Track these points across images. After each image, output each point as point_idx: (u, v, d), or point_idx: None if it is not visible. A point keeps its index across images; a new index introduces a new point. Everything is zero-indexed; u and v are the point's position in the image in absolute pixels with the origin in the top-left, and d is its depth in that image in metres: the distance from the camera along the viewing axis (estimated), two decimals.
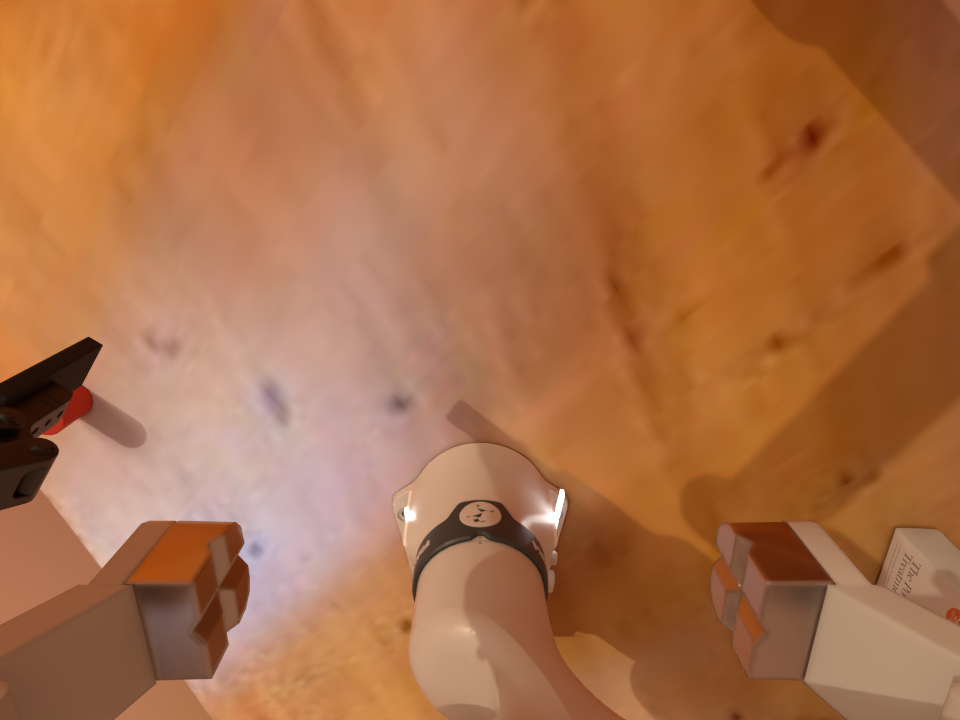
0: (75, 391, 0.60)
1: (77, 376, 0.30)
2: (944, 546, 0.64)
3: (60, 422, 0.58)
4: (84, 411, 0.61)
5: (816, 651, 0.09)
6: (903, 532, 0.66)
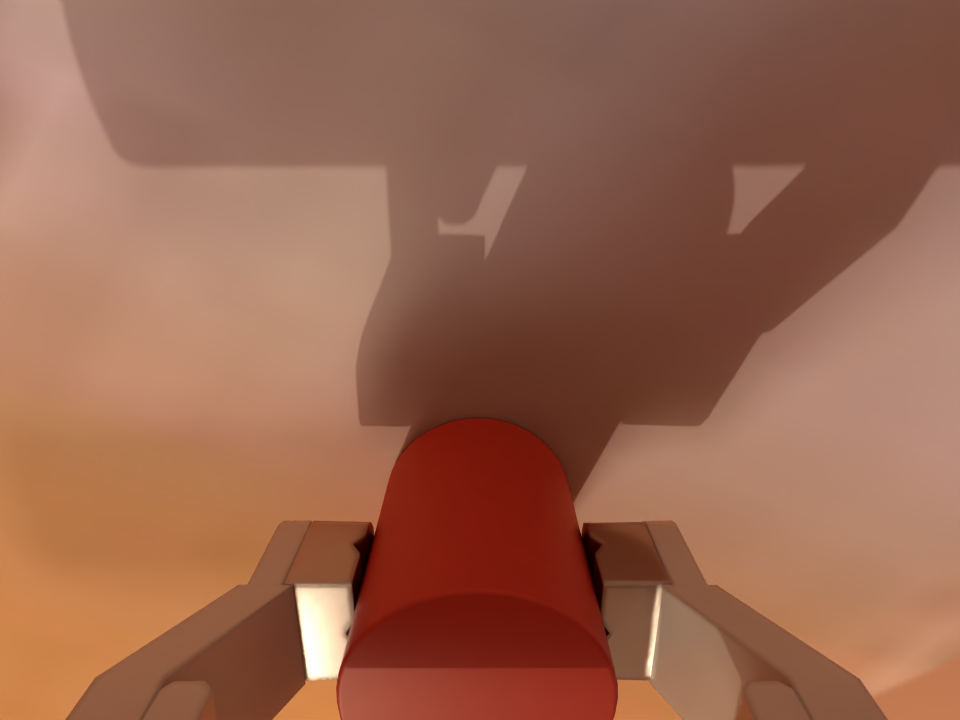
0: (385, 502, 0.11)
1: None
2: None
3: (477, 609, 0.07)
4: (503, 451, 0.10)
5: (660, 651, 0.09)
6: None
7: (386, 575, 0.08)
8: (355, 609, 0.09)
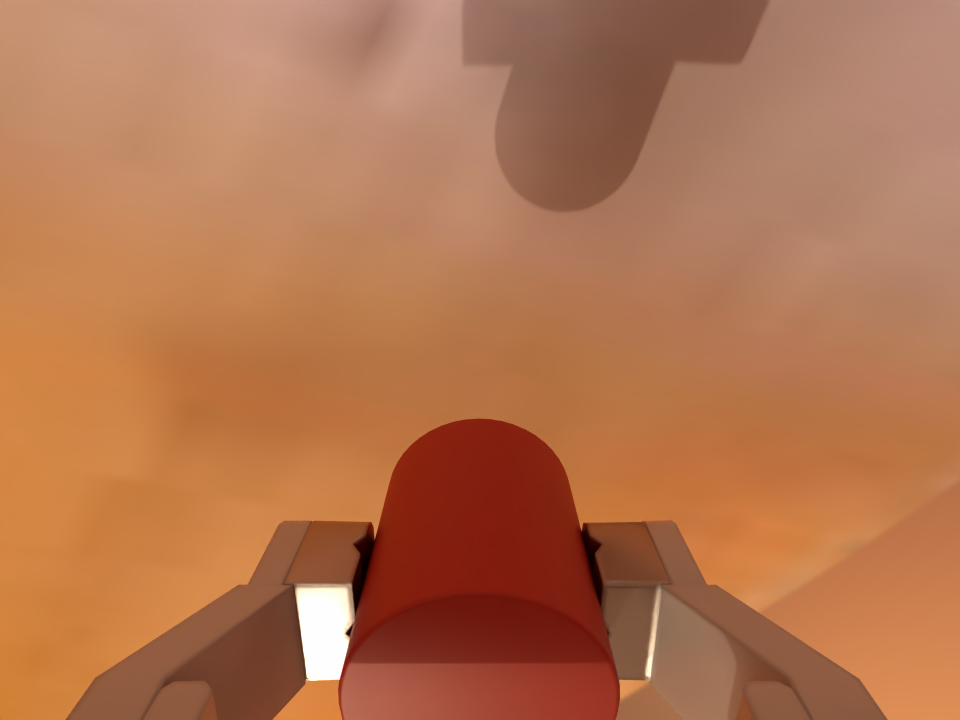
0: (387, 502, 0.11)
1: None
2: None
3: (479, 610, 0.07)
4: (505, 452, 0.10)
5: (660, 651, 0.09)
6: None
7: (388, 577, 0.08)
8: (357, 610, 0.09)
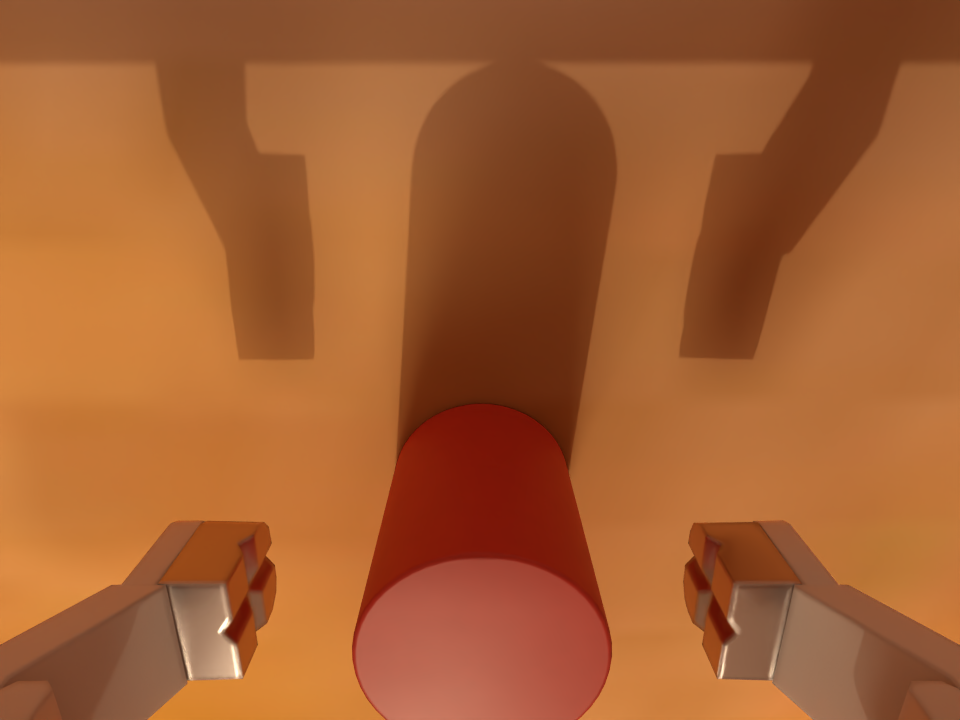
0: (394, 481, 0.11)
1: None
2: None
3: (482, 571, 0.08)
4: (506, 433, 0.11)
5: (784, 651, 0.09)
6: None
7: (397, 543, 0.09)
8: (368, 576, 0.09)
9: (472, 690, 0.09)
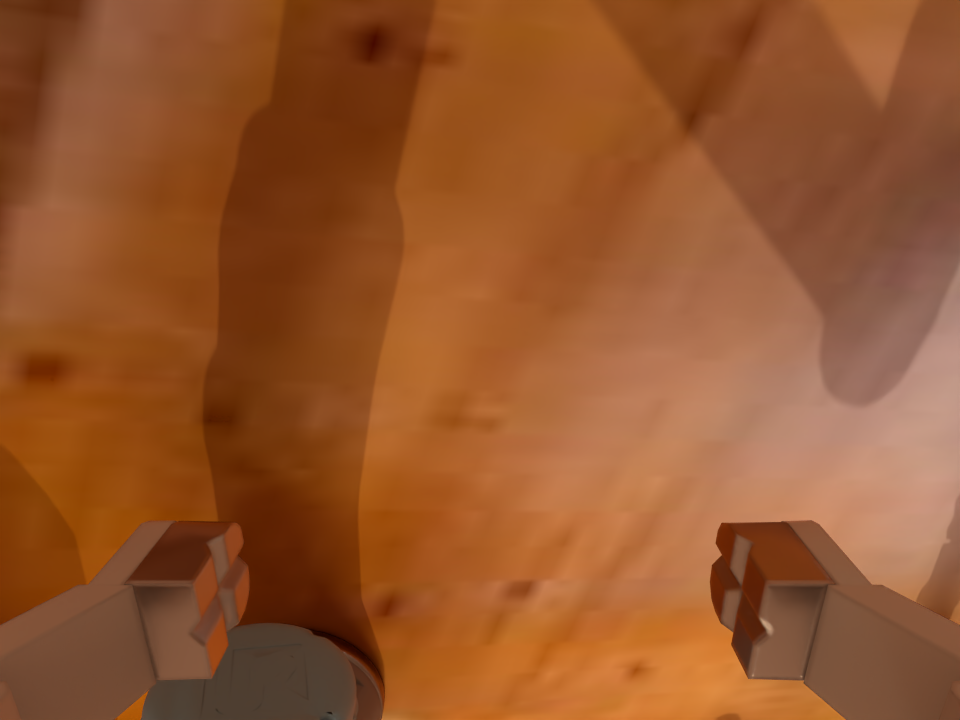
0: None
1: None
2: None
3: None
4: None
5: (816, 651, 0.09)
6: None
7: None
8: None
9: None
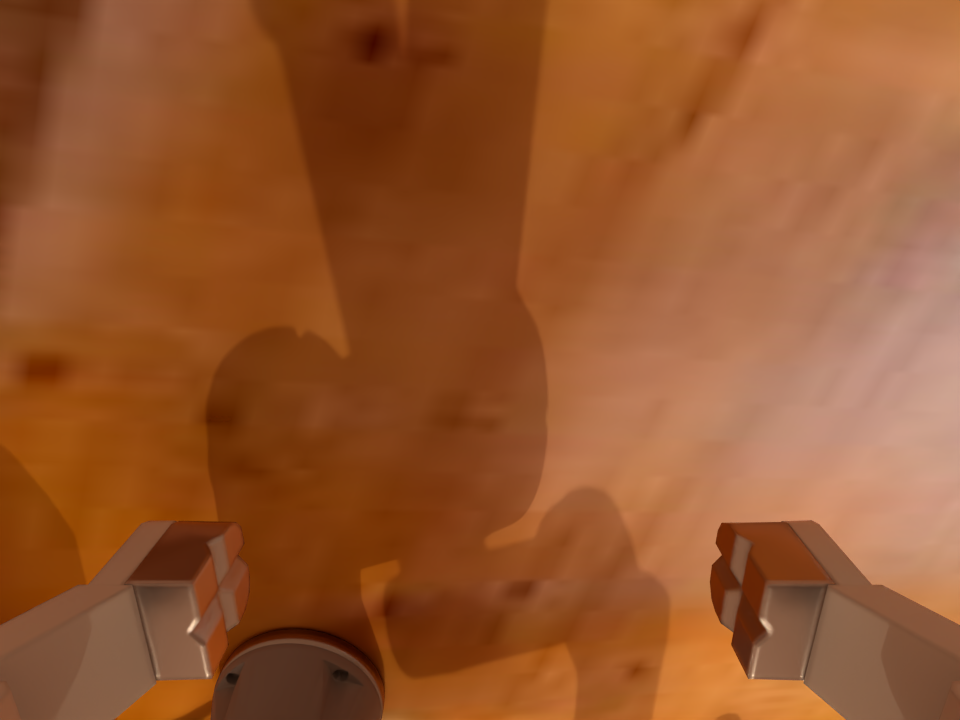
0: None
1: None
2: None
3: None
4: None
5: (816, 651, 0.09)
6: None
7: None
8: None
9: None
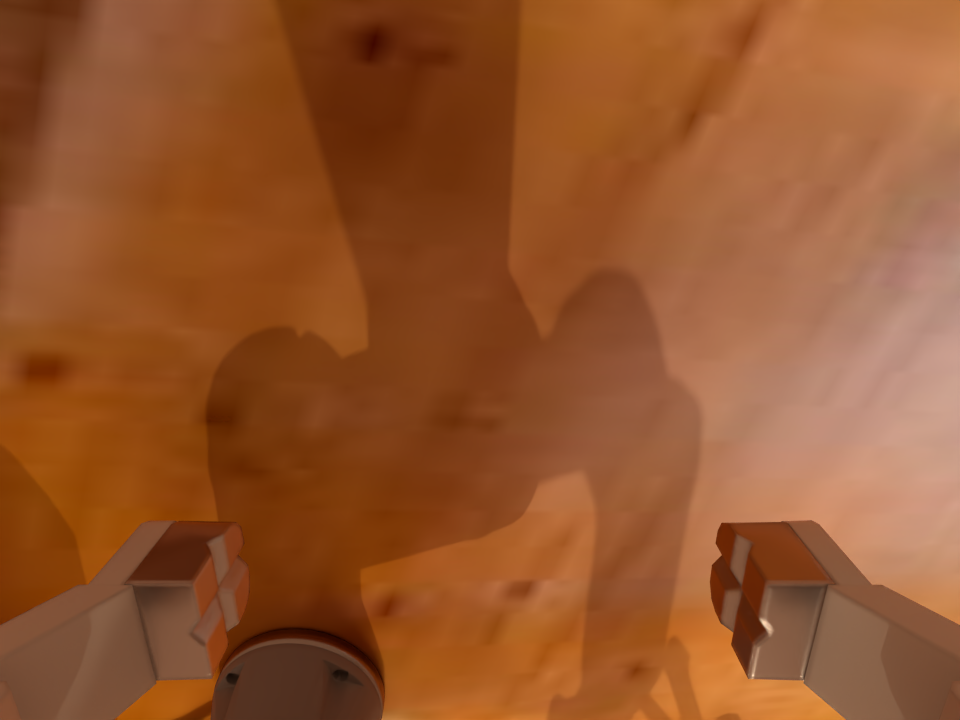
0: None
1: None
2: None
3: None
4: None
5: (816, 651, 0.09)
6: None
7: None
8: None
9: None
